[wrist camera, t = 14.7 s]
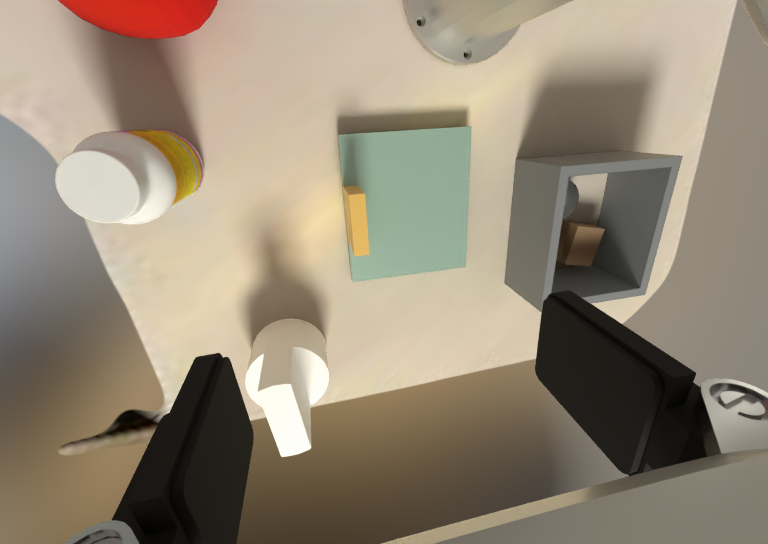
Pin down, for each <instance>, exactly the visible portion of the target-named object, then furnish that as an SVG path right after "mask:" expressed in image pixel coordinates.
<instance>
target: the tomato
mask: <svg viewBox="0 0 768 544" xmlns="http://www.w3.org/2000/svg"><path fill="white" fill-rule="evenodd" d="M58 1H59V2H60V3H62V4H63V5H64V6H65V7H67V8H68V9H69V10H71V11H72V12H73V13H74V14H76V15H77V16H78V17H80V18H81V19H83V20H85V21H87V22H89V23H91V24H93V25H95V26H97V27H99V28H101V29H104V30H107V31H110V32H113V33H117V34H121V35H124V36H128V37H135V38H146V39H156V38H171V37H178V36H184V35H186V34H188V33H191V32H193V31H195V30H197V29H199V28H200V27H201V26H202V25H203V24H204V22H205V21H206V20H207V19H208V18H209V17H210V16H211V14H212V12H213V10H214V8H215V6H216V5H217V1H218V0H58Z"/></svg>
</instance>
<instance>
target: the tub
mask: <svg viewBox="0 0 768 544" xmlns="http://www.w3.org/2000/svg"><path fill="white" fill-rule="evenodd" d="M681 160H682V156H676V155H664V154H652V153H640V152H629V151H611V152H598V153H586V154H574V155H562V156H549V157H537V158H525V159H516V165H515V175H514V186H513V197H512V208H511V219H510V230H509V241H508V252H507V263H506V273H505V284H506V285H507V286H509V287H510V288H511V289H512V290H514V291H515V292H516V293H518V294H519V295H520V296H521V297H523V298H524V299H525V300H526V301H528V302H529V303H530V304H531V305H533V306H534V307H535V308H536V309H538V310H539V311H540V312H542V306H543V301H544V300H545V299H547V297H548V295H549V294H551V293H555V292H560V291H566V290H570V291H572V292H574V293H575V294H577V295H578V296H580V297H581V298H583V299H584V300H586V301H587V302H589V303H590V304H591V303H598V302H604V301H610V300H616V299H622V298H628V297H634V296H640V295H645V294H646V290H647V286H648V282H649V279H650V275H651V271H652V268H653V264H654V260H655V257H656V253H657V249H658V245H659V242H660V238H661V234H662V231H663V227H664V223H665V219H666V216H667V212H668V208H669V205H670V201H671V197H672V194H673V190H674V186H675V182H676V179H677V175H678V171H679V168H680V164H681ZM601 173H608V178H607V183H606V189H605V194H604V199H603V204H602V209H601V214H600V219H599V225H598V227H600V228H603V229H605V230H604V233H603V235H602V238H601V241H600V243H599V246H598V249H597V251H596V254H595V256H594V259H593V262H592V264H591V266H576V267H569V268H562V269H555V264H556V258H557V251H558V245H559V238H560V231H561V225H562V218H563V211H564V205H565V198H566V192H567V185H568V178H569V176H579V175H590V174H601Z"/></svg>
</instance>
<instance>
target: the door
mask: <svg viewBox="0 0 768 544" xmlns="http://www.w3.org/2000/svg"><path fill="white" fill-rule="evenodd" d="M337 136H338V146H339V156H340V166H341V177H342V187H343V197H344V207H345V217H346V227H347V238H348V248H349V258H350V268H351V278H352V282H358V281H365V280H373V279H380V278H388V277H395V276H402V275H410V274H417V273H425V272H432V271H439V270H447V269H454V268H462V267H466V246H467V222H468V198H469V174H470V149H471V126H464V127H448V128H433V129H417V130H401V131H385V132H370V133H354V134H338V135H337Z"/></svg>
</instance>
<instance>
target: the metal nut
mask: <svg viewBox="0 0 768 544" xmlns="http://www.w3.org/2000/svg"><path fill="white" fill-rule="evenodd" d="M578 199H579V193H578V189H577V187H576V185H575V184H574V183H573V182H572V181H570V180H568V185H567V192H566V198H565V205H564V211H563V218H562V220H563V219H565V218H567V217H568V216H569V215H570V214H571V213H572V212H573V211H574V210H575V208H576V206H577V203H578Z"/></svg>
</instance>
